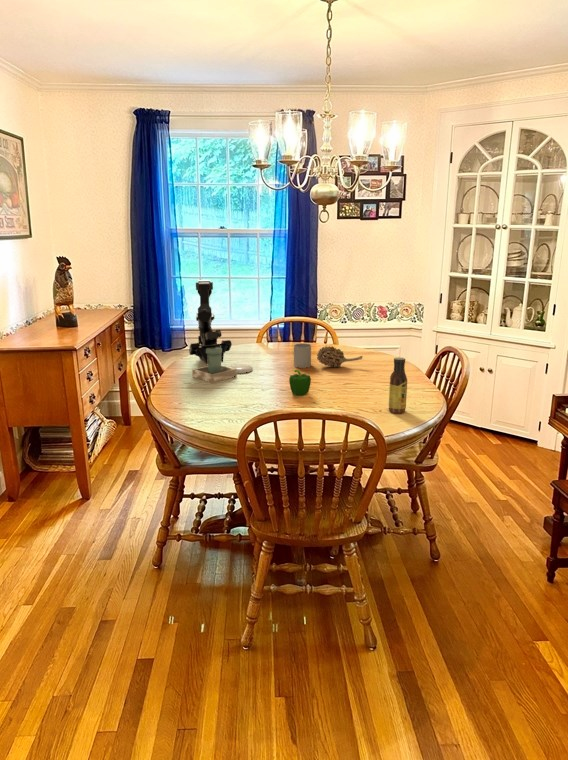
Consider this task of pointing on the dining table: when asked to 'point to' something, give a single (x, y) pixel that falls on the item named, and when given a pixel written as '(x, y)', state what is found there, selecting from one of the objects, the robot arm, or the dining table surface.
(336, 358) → the pine cone
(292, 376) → the bell pepper
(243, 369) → the saucer
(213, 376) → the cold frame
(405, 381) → the sauce bottle
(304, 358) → the cup
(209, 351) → the flower pot
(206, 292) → the robot arm
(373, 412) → the dining table surface
